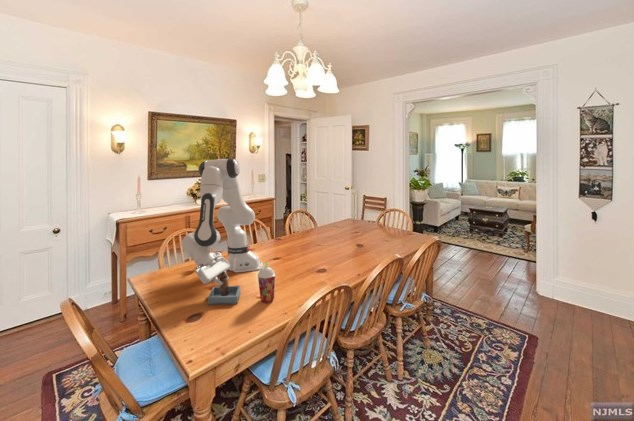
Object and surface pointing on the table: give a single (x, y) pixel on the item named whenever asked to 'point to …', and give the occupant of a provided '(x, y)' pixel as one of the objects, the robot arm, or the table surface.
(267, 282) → the smoothie
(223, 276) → the pepper mill
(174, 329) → the table surface
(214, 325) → the table surface
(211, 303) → the serving tray
